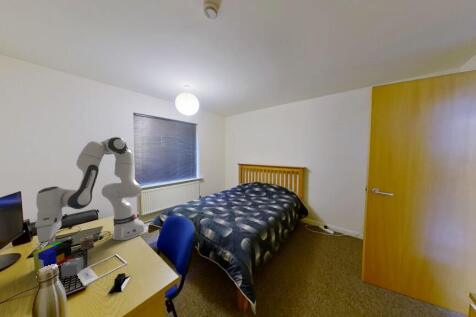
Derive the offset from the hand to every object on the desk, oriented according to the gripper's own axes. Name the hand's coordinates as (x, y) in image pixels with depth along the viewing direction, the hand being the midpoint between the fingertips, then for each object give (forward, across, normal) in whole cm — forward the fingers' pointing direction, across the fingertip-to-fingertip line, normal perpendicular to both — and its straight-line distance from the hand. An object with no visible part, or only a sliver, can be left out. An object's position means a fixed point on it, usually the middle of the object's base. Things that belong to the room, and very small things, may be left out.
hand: (51, 242), depth 89 cm
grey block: (+13, +14, +10) cm, 22 cm away
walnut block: (+13, -12, +12) cm, 22 cm away
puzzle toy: (+13, 0, 0) cm, 13 cm away
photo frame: (+14, +19, +22) cm, 32 cm away
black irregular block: (+14, +37, +30) cm, 50 cm away
